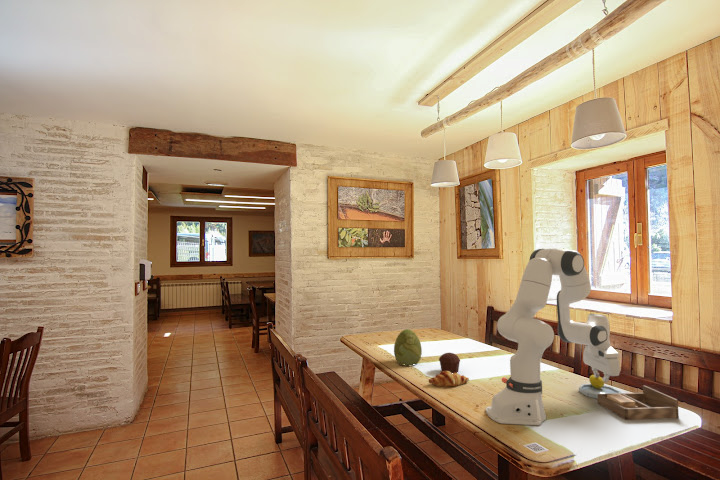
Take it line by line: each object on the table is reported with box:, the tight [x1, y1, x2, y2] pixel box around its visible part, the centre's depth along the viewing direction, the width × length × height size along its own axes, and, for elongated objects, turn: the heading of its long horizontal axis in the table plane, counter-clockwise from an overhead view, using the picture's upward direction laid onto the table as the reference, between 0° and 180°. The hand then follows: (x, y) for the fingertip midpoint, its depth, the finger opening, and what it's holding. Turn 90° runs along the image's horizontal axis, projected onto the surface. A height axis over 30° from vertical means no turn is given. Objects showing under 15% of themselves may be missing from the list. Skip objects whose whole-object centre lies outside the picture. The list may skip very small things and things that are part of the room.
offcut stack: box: [607, 394, 638, 408], centre depth 152 cm, size 6×9×5 cm
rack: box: [597, 385, 680, 421], centre depth 153 cm, size 21×16×7 cm
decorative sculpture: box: [393, 328, 423, 366], centre depth 224 cm, size 16×16×20 cm
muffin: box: [438, 352, 461, 373], centre depth 207 cm, size 12×11×10 cm
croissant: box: [428, 371, 470, 387], centre depth 187 cm, size 21×10×8 cm, turn 101°
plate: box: [578, 383, 622, 400], centre depth 172 cm, size 16×16×2 cm
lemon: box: [589, 374, 605, 388], centre depth 177 cm, size 6×6×8 cm
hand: (601, 379), depth 172 cm, fingers open, 5 cm apart
